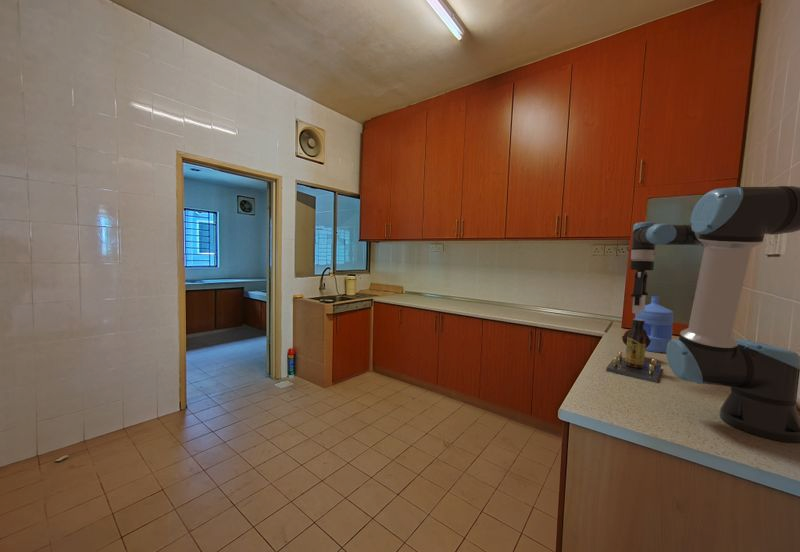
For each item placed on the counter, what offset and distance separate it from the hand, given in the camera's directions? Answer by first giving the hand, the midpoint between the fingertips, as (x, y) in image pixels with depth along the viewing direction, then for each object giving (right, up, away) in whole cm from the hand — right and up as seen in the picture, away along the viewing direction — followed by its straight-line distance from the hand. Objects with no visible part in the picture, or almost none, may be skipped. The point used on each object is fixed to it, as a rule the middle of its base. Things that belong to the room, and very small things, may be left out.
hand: (638, 311), depth 127 cm
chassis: (-1, -25, +1) cm, 25 cm away
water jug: (+34, -24, +36) cm, 55 cm away
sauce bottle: (-1, -23, +1) cm, 23 cm away
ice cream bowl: (+12, -24, +18) cm, 33 cm away
